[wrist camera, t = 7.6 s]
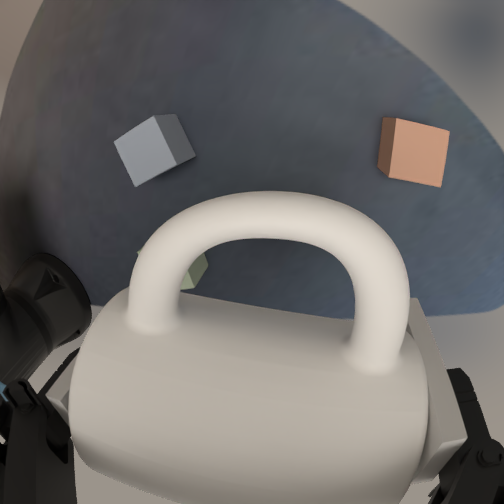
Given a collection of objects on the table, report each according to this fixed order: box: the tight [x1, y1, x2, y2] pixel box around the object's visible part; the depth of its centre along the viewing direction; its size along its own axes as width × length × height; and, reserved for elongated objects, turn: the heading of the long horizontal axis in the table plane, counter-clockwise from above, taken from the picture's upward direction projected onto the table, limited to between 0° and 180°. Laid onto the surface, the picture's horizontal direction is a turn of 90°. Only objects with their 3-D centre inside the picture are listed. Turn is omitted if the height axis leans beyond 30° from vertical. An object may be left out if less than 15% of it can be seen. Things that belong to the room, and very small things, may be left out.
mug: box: [68, 191, 429, 504], centre depth 9 cm, size 12×10×8 cm
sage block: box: [137, 246, 208, 290], centre depth 34 cm, size 5×5×5 cm
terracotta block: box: [377, 117, 450, 187], centre depth 24 cm, size 5×5×5 cm
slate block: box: [114, 114, 196, 187], centre depth 29 cm, size 5×5×5 cm
